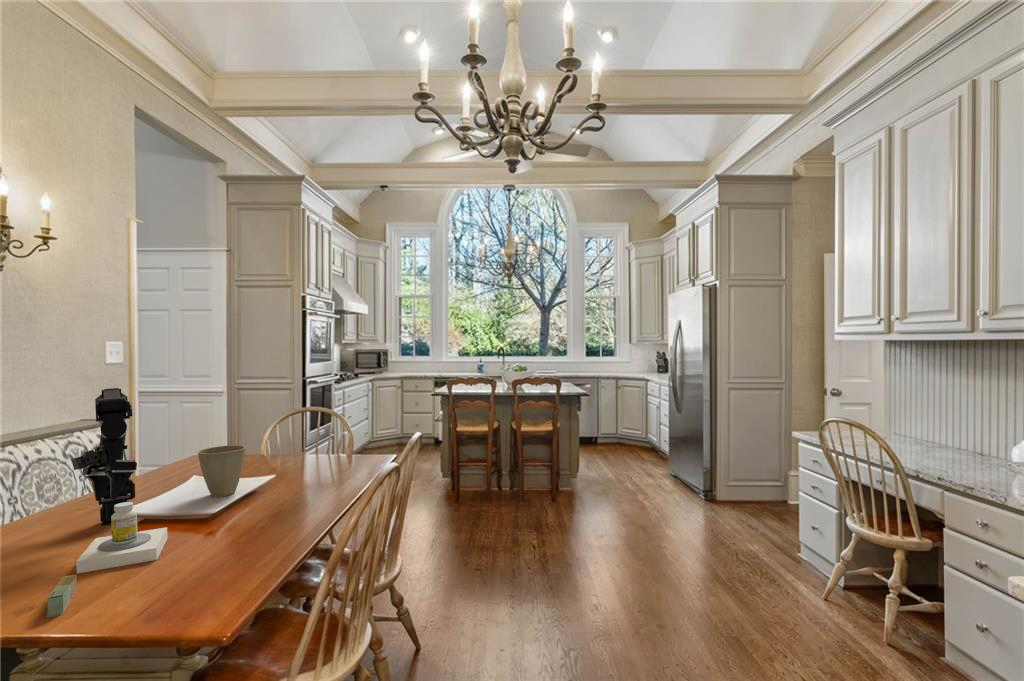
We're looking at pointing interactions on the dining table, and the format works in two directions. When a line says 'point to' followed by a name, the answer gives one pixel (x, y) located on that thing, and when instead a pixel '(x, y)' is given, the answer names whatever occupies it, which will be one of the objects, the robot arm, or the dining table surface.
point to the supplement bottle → (124, 524)
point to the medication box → (61, 596)
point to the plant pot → (222, 468)
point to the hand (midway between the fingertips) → (105, 500)
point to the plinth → (122, 551)
